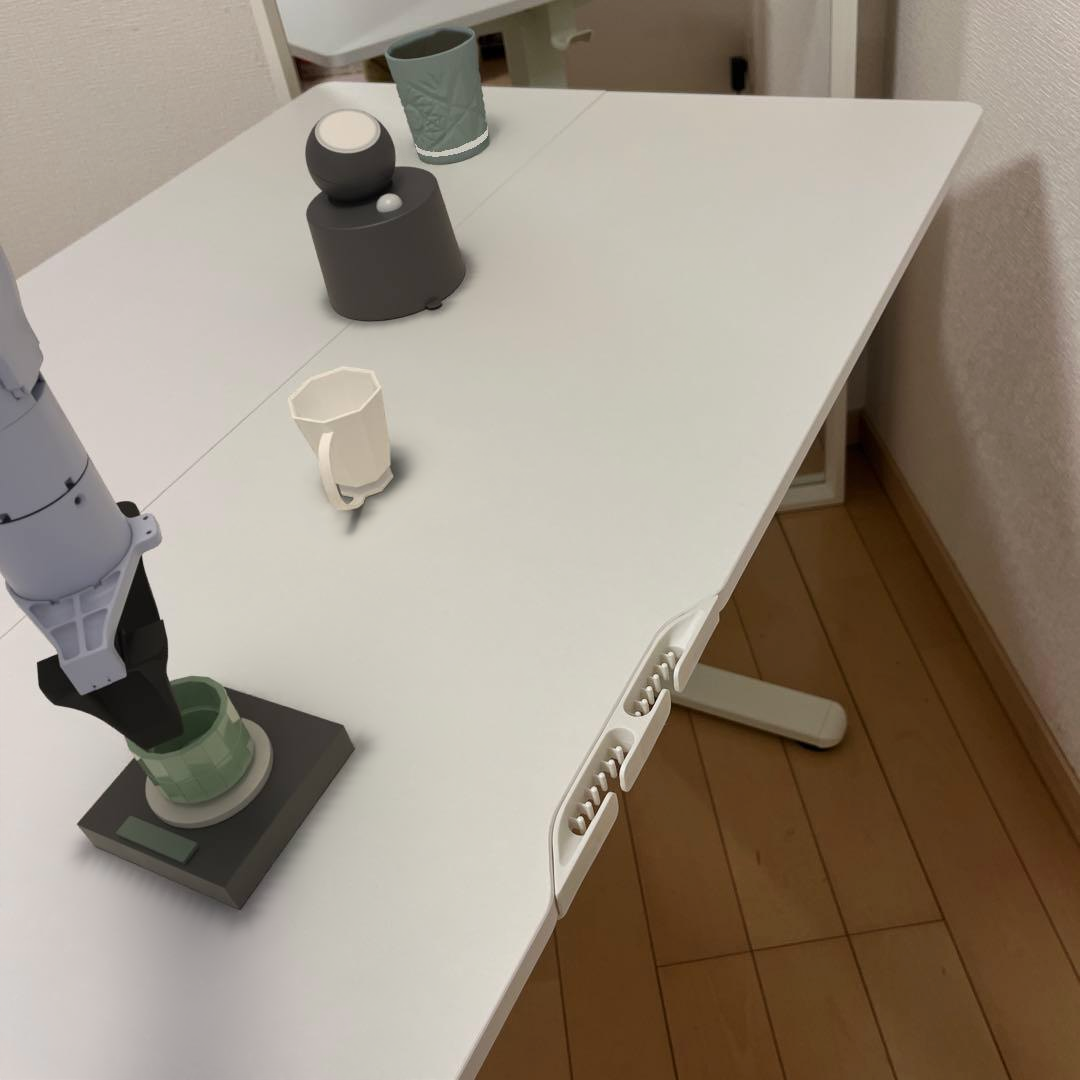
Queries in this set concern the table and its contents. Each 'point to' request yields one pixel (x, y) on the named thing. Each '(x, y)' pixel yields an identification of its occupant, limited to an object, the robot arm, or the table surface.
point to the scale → (225, 806)
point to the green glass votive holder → (199, 745)
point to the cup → (345, 432)
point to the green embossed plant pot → (440, 90)
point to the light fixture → (377, 222)
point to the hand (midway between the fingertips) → (153, 685)
